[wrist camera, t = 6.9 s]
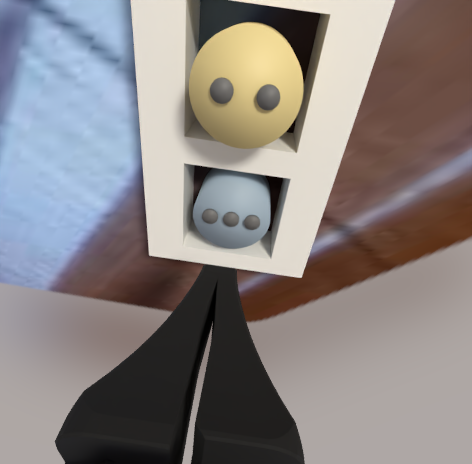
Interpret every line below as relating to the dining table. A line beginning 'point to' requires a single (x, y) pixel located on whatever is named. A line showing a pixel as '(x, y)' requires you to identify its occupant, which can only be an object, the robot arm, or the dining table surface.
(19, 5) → the dining table surface
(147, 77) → the button panel
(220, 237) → the slate button
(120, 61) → the dining table surface
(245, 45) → the mustard button
